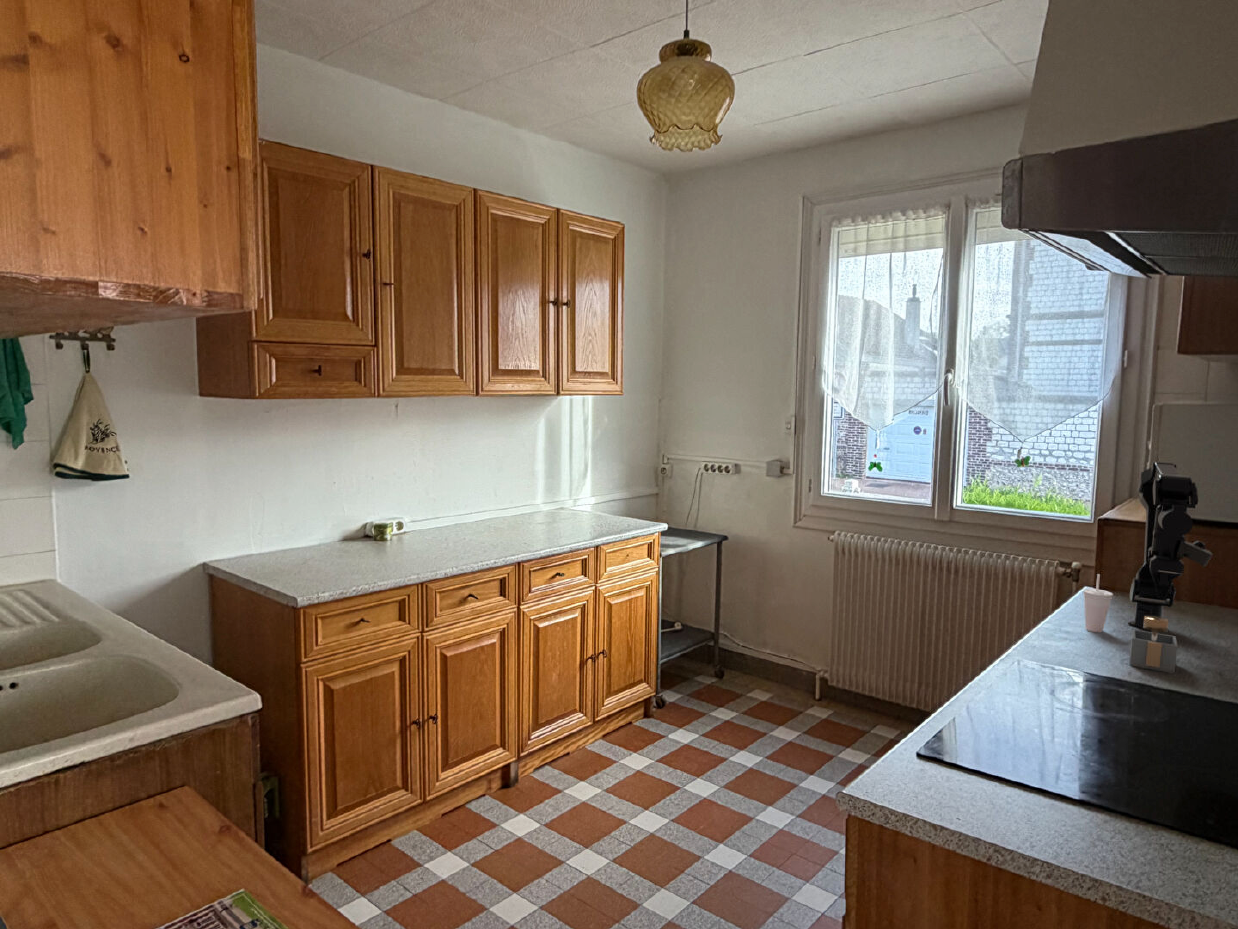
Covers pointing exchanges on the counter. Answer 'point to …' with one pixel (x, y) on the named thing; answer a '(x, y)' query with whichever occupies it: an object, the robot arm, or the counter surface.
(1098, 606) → the smoothie
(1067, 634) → the counter surface
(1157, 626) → the plunger
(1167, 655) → the grey open box
